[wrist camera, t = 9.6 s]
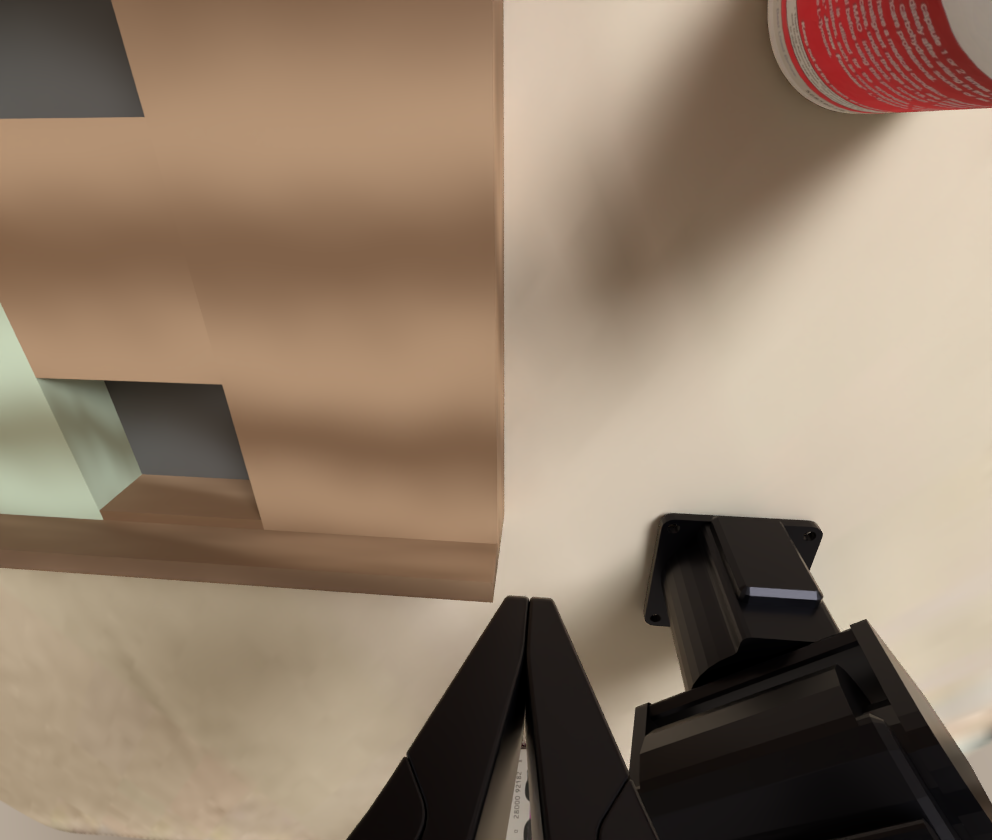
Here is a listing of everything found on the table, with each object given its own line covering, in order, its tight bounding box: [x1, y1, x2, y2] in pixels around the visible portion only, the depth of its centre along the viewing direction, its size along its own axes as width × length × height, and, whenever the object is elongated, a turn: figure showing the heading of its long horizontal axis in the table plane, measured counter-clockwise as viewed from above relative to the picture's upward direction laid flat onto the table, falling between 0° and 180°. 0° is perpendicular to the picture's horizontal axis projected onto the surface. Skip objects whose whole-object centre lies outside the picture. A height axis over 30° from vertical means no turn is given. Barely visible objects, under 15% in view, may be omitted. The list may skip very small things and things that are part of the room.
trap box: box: [0, 0, 504, 603], centre depth 17 cm, size 23×25×5 cm
